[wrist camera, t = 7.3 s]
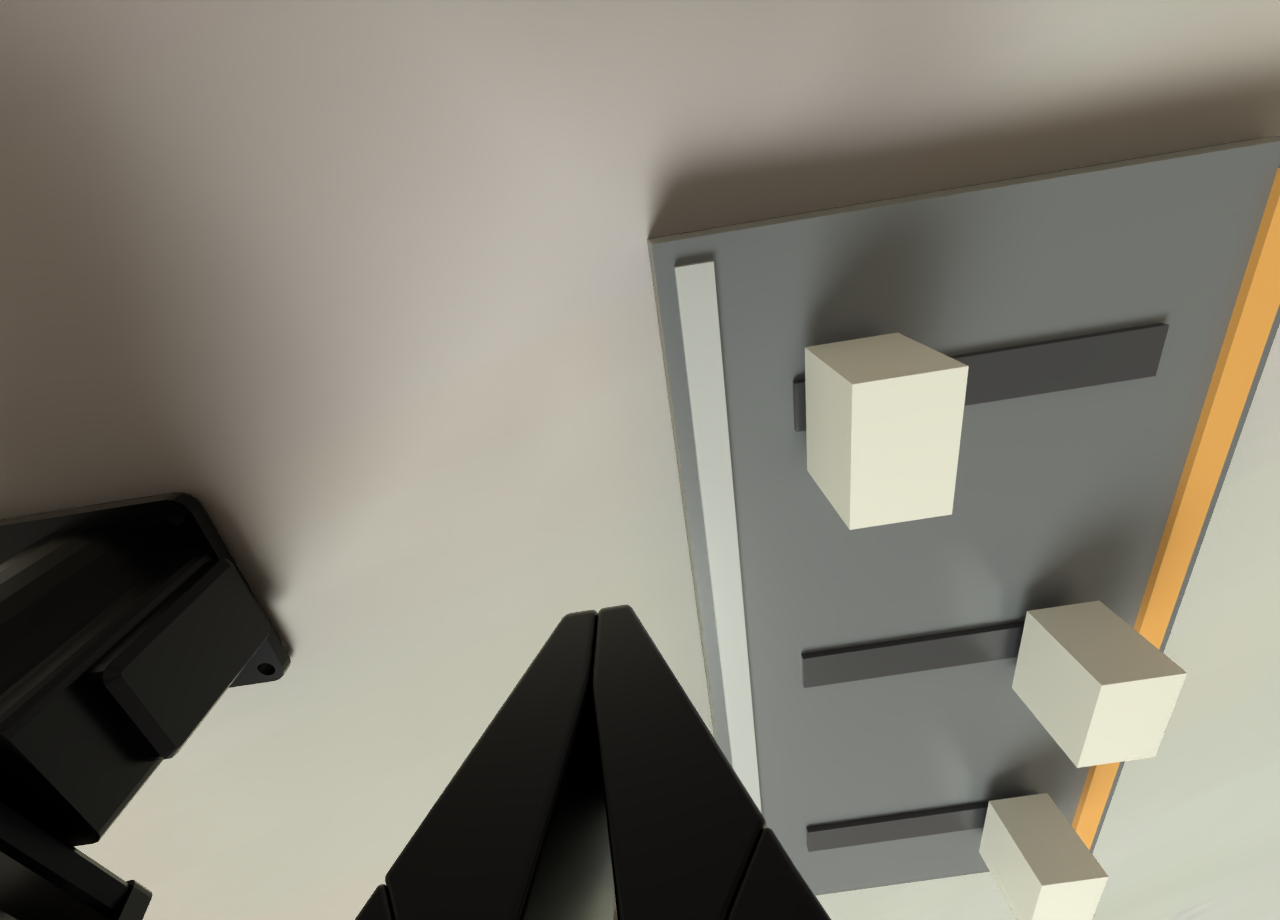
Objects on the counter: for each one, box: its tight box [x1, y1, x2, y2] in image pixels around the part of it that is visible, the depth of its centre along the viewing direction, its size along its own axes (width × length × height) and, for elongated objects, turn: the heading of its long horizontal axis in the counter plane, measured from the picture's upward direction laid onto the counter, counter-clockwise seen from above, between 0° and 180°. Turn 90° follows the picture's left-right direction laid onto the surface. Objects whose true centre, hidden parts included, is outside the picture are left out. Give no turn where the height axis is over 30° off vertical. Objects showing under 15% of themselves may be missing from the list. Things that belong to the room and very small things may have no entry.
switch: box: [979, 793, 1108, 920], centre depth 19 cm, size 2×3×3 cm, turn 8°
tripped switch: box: [805, 332, 969, 530], centre depth 11 cm, size 2×3×3 cm, turn 9°
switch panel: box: [647, 136, 1280, 895], centre depth 17 cm, size 14×25×2 cm, turn 9°
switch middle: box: [1012, 601, 1187, 768], centre depth 15 cm, size 2×3×3 cm, turn 9°
